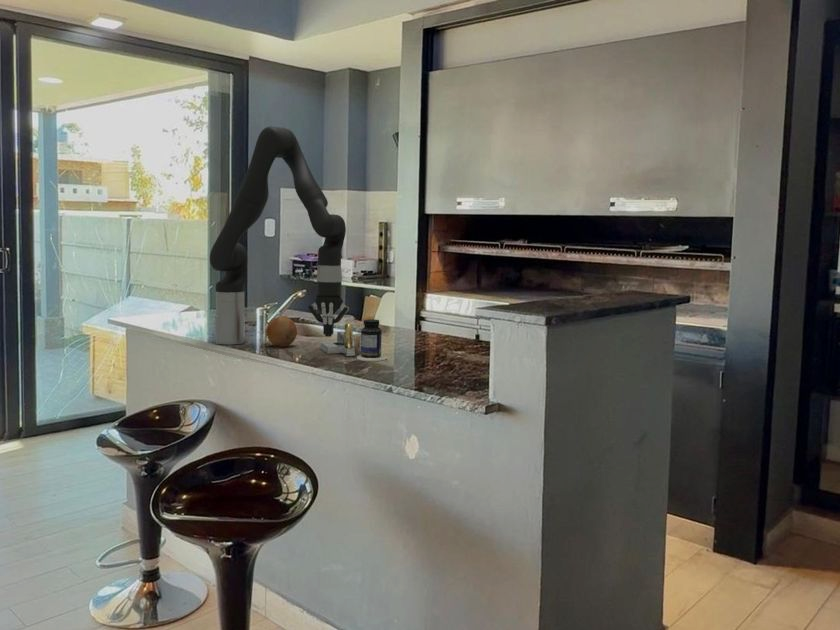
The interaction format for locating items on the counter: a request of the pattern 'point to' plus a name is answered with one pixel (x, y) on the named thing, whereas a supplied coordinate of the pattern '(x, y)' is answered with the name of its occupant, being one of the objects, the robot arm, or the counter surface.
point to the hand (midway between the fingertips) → (328, 336)
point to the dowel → (357, 345)
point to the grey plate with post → (346, 349)
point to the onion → (281, 331)
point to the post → (340, 338)
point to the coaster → (372, 358)
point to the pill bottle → (371, 339)
